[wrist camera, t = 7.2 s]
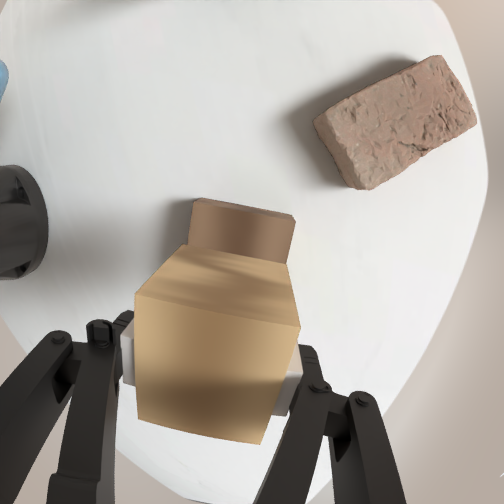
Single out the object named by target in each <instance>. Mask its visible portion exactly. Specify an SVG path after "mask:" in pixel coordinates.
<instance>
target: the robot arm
mask: <svg viewBox="0 0 504 504" xmlns="http://www.w3.org/2000/svg"><path fill="white" fill-rule="evenodd" d="M8 78H9V73H8V69H7V66H6V65H5V63H4V62H3V61H1V60H0V102H1V99H2V96H3V94H4V91H5V89H6V86H7V83H8ZM47 242H48V216H47V210H46V205H45V202H44V198H43V195H42V193H41V190H40V188H39V186H38V184H37V182H36V181H35V179H34V178H33V177H32V175H31V174H30V173H29V172H28V171H27V170H25V169H24V168H22V167H20V166H17V165H6V166H0V280H14V279H19V278H21V277H24V276H25V275H27V274H29V273H31V272H32V271H34V270H35V269H36V268H37V267H38V266H39V264H40V263H41V261H42V259H43V257H44V254H45V251H46V247H47ZM86 330H87V340H88V342H87V343H82V342H73V341H72V338H71V335H70V334H69V333H67V332H65V331H61V330H58V331H52V332H50V333H48V334H47V335H46V336H45V337H44V338H43V339H42V340H41V341H40V342H39V343H38V344H37V346H36V347H35V348H34V349H33V350H32V351H31V352H30V353H29V354H28V355H27V357H26V358H25V359H24V360H23V361H22V362H21V363H20V364H19V365H18V366H17V368H16V369H15V370H14V371H13V372H12V373H11V374H10V376H9V377H8V378H7V379H6V380H5V382H4V383H3V384H2V385H1V386H0V504H13V503H14V501H15V499H16V497H17V496H18V493H19V491H20V489H21V487H22V485H23V483H24V481H25V479H26V477H27V475H28V473H29V471H30V469H31V467H32V465H33V463H34V462H35V460H36V458H37V456H38V454H39V452H40V450H41V448H42V447H43V445H44V443H45V441H46V439H47V437H48V436H49V434H50V432H51V430H52V429H53V427H54V425H55V423H56V422H57V420H58V418H59V416H60V415H61V413H62V411H63V410H64V408H65V406H66V405H67V403H68V401H69V400H70V398H71V396H72V398H71V402H70V407H69V411H68V415H67V420H66V425H65V430H64V435H63V440H62V445H61V451H60V457H59V463H58V469H57V472H56V473H54V474H52V475H51V477H50V479H49V485H48V493H47V502H46V504H115V496H114V466H115V465H114V464H115V437H116V421H117V408H118V397H119V379H120V378H121V376H122V374H123V383H125V384H129V385H132V386H135V387H136V382H135V357H134V311H130V310H127V311H125V312H123V313H121V314H120V315H119V316H118V317H117V318H116V320H115V321H114V322H113V323H112V322H110V321H108V320H103V319H97V320H93V321H91V322H89V323H88V324H87V325H86ZM288 411H289V412H290V416H289V419H288V421H287V423H286V426H285V428H284V430H283V434H282V437H281V439H280V442H279V444H278V447H277V449H276V452H275V454H274V456H273V459H272V461H271V464H270V466H269V468H268V471H267V473H266V475H265V478H264V480H263V482H262V484H261V487H260V489H259V491H258V493H257V495H256V498H255V500H254V502H253V504H305V502H306V498H307V495H308V492H309V488H310V485H311V481H312V477H313V474H314V470H315V466H316V462H317V458H318V455H319V450H320V446H321V442H322V438H323V435H325V436H328V440H329V449H330V458H331V468H332V478H333V489H334V498H335V499H334V500H335V504H406V500H405V496H404V492H403V489H402V485H401V481H400V477H399V473H398V470H397V466H396V463H395V459H394V456H393V453H392V449H391V446H390V443H389V439H388V436H387V433H386V429H385V426H384V423H383V420H382V417H381V414H380V411H379V408H378V405H377V402H376V400H375V398H374V397H373V396H372V395H370V394H368V393H366V392H363V391H355V392H352V393H351V394H350V395H349V397H346V396H343V395H339V394H337V393H334V392H333V391H332V388H331V386H330V385H329V384H328V383H327V382H326V381H324V379H323V375H322V371H321V367H320V365H319V360H318V356H317V352H316V351H315V350H314V349H313V347H312V346H308V345H301V344H298V341H297V342H296V345H295V348H294V351H293V354H292V357H291V360H290V363H289V366H288V369H287V372H286V375H285V378H284V381H283V384H282V387H281V390H280V392H279V395H278V398H277V401H276V404H275V406H274V409H273V412H272V415H276V416H286V415H287V413H288Z"/></svg>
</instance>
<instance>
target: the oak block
mask: <svg viewBox="0 0 504 504" xmlns="http://www.w3.org/2000/svg"><path fill="white" fill-rule="evenodd" d="M300 329H301V326H300V321H299V316H298V312H297V307H296V303H295V298H294V294H293V290H292V285H291V281H290V277H289V272H288V268H287V264H283V263H277V262H272V261H267V260H262V259H257V258H252V257H246V256H241V255H236V254H231V253H226V252H221V251H216V250H211V249H206V248H200V247H195V246H190V245H185V244H182V245H181V246H180V247H179V248H178V249H177V250H176V251H175V252H174V253H173V254H172V255H171V256H170V257H169V258H168V259H167V260H166V261H165V262H164V263H163V264H162V266H161V267H160V268H159V269H158V270H157V271H156V272H155V273H154V274H153V275H152V276H151V277H150V278H149V279H148V280H147V281H146V282H145V283H144V284H143V285H142V286H141V288H140V289H139V290H138V291H137V292H136V293H135V302H134V357H135V382H136V399H137V412H138V419H139V420H143V421H146V422H150V423H153V424H157V425H160V426H164V427H168V428H172V429H176V430H180V431H184V432H188V433H193V434H198V435H202V436H207V437H213V438H218V439H224V440H230V441H236V442H243V443H250V444H258V445H260V444H261V441H262V438H263V436H264V433H265V431H266V428H267V425H268V423H269V420H270V417H271V415H272V412H273V409H274V406H275V404H276V401H277V398H278V395H279V392H280V390H281V387H282V384H283V381H284V378H285V375H286V372H287V369H288V366H289V363H290V360H291V357H292V354H293V351H294V348H295V345H296V342H297V338H298V335H299V332H300Z"/></svg>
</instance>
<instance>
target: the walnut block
mask: <svg viewBox="0 0 504 504" xmlns="http://www.w3.org/2000/svg"><path fill="white" fill-rule="evenodd" d="M295 223H296V221H295V220H294V218H293V217H292V215H289V214H284V213H280V212H275V211H270V210H265V209H260V208H255V207H249V206H244V205H239V204H234V203H228V202H223V201H217V200H212V199H206V198H200V199H198V200H196V201H195V202H193V208H192V215H191V221H190V228H189V235H188V242H187V245H190V246H195V247H200V248H206V249H211V250H216V251H221V252H226V253H231V254H236V255H241V256H246V257H252V258H257V259H262V260H267V261H272V262H277V263H283V264H286V262H287V258H288V253H289V249H290V245H291V240H292V236H293V232H294V227H295Z"/></svg>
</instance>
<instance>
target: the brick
mask: <svg viewBox="0 0 504 504" xmlns="http://www.w3.org/2000/svg"><path fill="white" fill-rule="evenodd" d="M313 124H314V127H315V129H316V131H317V132H318V136H319V138H320V139H321V140H322V141H323V143H325V145H326V147H327V148H328V150H329V152H330V153H331V156H332V157H333V158H334V160H335V164H336V165H337V167H338V170H339V173H340V175H341V176H342V178H343V179H344V181H345V183H346V184H347V185H348V186H349V187H350V188H355V189H357V190H372V189H374V188H375V187H377V186H379V185H380V184H381V183H384V182H386V181H388V180H389V179H390V178H393V177H395V176H396V175H398V174H400V173H401V172H403V171H404V170H405V169H406V168H407V167H408V166H410V165H411V164H413V163H415V162H416V161H417V160H418V159H419V158H420V157H423V156H425V155H426V154H427V153H428V152H430V151H431V150H432V149H434V148H437V147H439V146H440V145H442V144H443V143H446V142H448V141H450V140H451V139H453V138H456V137H457V136H459V135H461V134H462V133H464V132H466V131H467V130H468V129H470V128H472V127H473V126H475V125H476V124H477V118H476V115H475V113H474V110H473V108H472V104H471V103H470V101H469V99H468V97H467V95H466V93H465V91H464V89H463V87H462V85H461V84H460V82H459V81H458V79H457V78H456V77H455V75H454V74H453V72H452V71H451V69H450V68H449V67H448V65H447V63H446V61H445V60H444V58H443V57H442V55H436V56H430V57H428V58H426V59H424V60H422V61H420V62H418V63H416V64H414V65H412V66H410V67H408V68H405V69H403V70H401V71H399V72H397V73H395V74H393V75H391V76H389V77H387V78H385V79H382V80H380V81H378V82H375V83H374V84H372V85H369V86H367V87H365V88H364V89H362V90H360V91H358V92H356V93H354V94H353V95H351V96H349V97H347V98H345V99H343V100H342V101H340V102H338V103H336V104H335V105H333V106H331V107H330V108H328V109H327V110H326V111H325V112H323V113H322V114H320V115H319V116H318V117H317V118H315V119H314V120H313Z"/></svg>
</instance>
